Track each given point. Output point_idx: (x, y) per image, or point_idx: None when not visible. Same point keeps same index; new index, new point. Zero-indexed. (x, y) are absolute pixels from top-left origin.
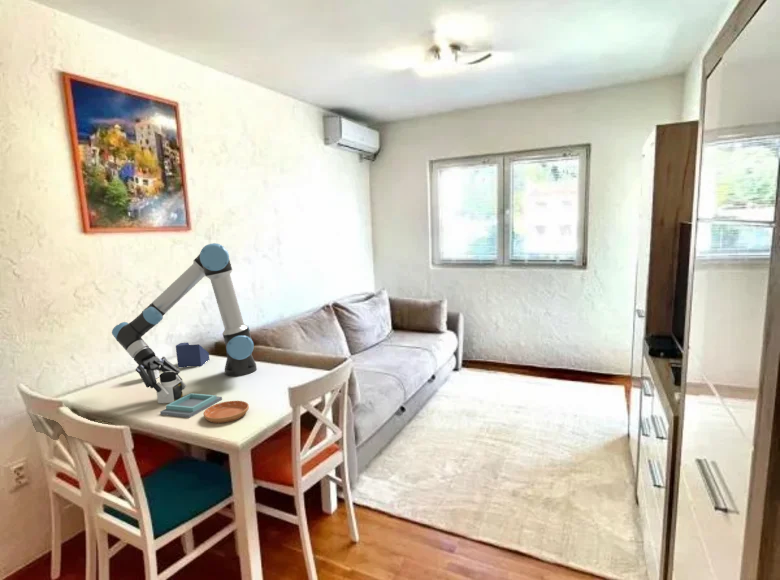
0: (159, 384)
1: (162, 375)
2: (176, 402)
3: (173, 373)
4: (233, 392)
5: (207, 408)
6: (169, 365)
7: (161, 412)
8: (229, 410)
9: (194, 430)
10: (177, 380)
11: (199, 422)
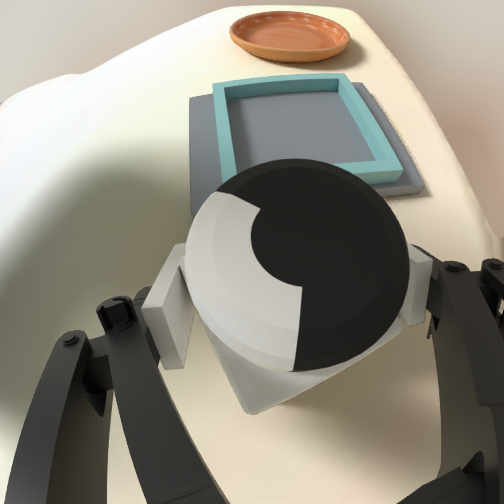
0: (414, 250)
1: (396, 226)
2: (346, 166)
3: (265, 163)
4: (117, 129)
5: (315, 49)
6: (62, 459)
7: (419, 181)
8: (271, 41)
9: (385, 54)
10: (180, 302)
11: (357, 62)
